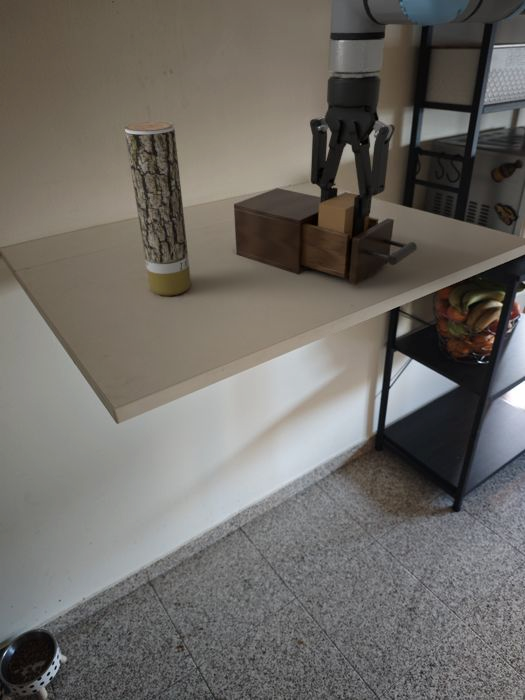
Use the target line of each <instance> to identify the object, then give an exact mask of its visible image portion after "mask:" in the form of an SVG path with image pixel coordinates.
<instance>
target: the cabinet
mask: <svg viewBox="0 0 525 700" xmlns="http://www.w3.org/2000/svg"><path fill="white" fill-rule="evenodd" d="M320 202H321V196H316V195H312V194H307V193H302V192H297V191H294V190H288V189H284V188H279V187H276V188H274V189H271V190H268V191H265V192H262V193H260V194H258V195H255V196H252V197H249V198H246V199H244V200H241V201H239V202H236V203H233V215H234V233H235V234H234V235H235V236H234V237H235V254H236V255H238V256H241V257H243V258H246V259H250V260H253V261H255V262H258V263H262V264H266V265H269V266H271V267H274V268H278V269H281V270H284V271H287V272H290V273H293V274H296V275H300V274H301V273H303V272H305V271H307V270H308V269H311V268H310V267H307V266H303V265H301V247H302V224H303V223H305V222H307V221H309V220H312V219H314V218H316V217H318V216H319V204H320Z"/></svg>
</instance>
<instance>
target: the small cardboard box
mask: <svg viewBox="0 0 525 700" xmlns="http://www.w3.org/2000/svg"><path fill="white" fill-rule="evenodd" d="M357 195H358V194H357V193H352V192H347V191H345V192H343V193H340V194H337V196H336V197H333V198H331V199H329V200H326V201H324V202H322V203H320V204H319V217H318V227H322V228H326V229H330V230H334V231H338V232H342V233H346V234H350V239H351V238H353V237H352V227H353V215H354V199H355V197H356V196H357ZM369 217H370V215H369V216H367V217H365V225H364V231H365V230H367V229H368V223H369Z"/></svg>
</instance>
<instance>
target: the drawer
mask: <svg viewBox="0 0 525 700" xmlns="http://www.w3.org/2000/svg"><path fill="white" fill-rule="evenodd" d="M318 217H319V216H318ZM318 217H316V218H314V219H312V220H309V221H307V222H305V223H303V224H302V247H301V265H303V266H307V267H310V268H309V269H312V270H316V271H320V272H322V273H325V274H330V275H333V276H335V277H339V278H341V279H345V278H347V277H348V284H349V285H350V284H351V285H353V286H356V285H357V284H359V283H361V282H362V281H363V280H365V279H366V278H368V277H369V276H371V275H373V274H374V273H375V272H377V271H378V270H380V269H381V268H383V267H384V266H386V265H387V264H389V265H390V266H395V265H397V264H398V263H400V262H401V261H403V260H404V259H405V258H407V257H408V256H410V255H411V254H412V253H413V254H414V252H416V250H417V249H418V245H417V244H416V242H415V241H410V242H408V243H403V242H400V241H396V240H392V237H393V231H394V222H395V219H394V218H393V219H392V218H390V217H389V218H386V219H384V220H382V221H381V222H379V218H376V217H371V216H369V223H368V229H367V230H365V231H364V232H362V233H361V234H359V235H357V236H355V237H353V238H351V239H350V234H346V233H342V232H338V231H334V230H330V229H326V228H322V227H318ZM392 246H393V247H397V248H399V249H398V250H396V251H395V252H393V253H391V247H392Z"/></svg>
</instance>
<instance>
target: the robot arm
mask: <svg viewBox="0 0 525 700" xmlns="http://www.w3.org/2000/svg"><path fill="white" fill-rule="evenodd" d="M330 1H331V2H330V4H331V6H330V25H329V26H330V28H329V33H330V34H329V48H328V66H327V71H328V72H329V73H330V74H331V75H330V76H329V78H328V79H327V91H326V103H327V106H328V107H327V110H326V112H325V115H324V116H321V117H316V118H313V119H311V120H310V121H309V127H310V131H311V135H312V137H311V139H312V142H311V143H312V144H311V163H310V164H311V165H310V183H311V184H312V185H316V186H318V187H319V188H320V197H321V202H320V203H322V202H324V201H326V200H329V199H331V198H333V197H336V196H338V191H339V190H338V189H339V188H338V187H335V186H336V185H337V183H336V182H335V181H336V178H337V175H338V171H339V167H340V164H341V160H342V156H343V153H344V150H345V147H346V146H347V145H349V146H350V147H351V152H352V153H353V154H354V155H353V156H354V162H355V164H354V165H355V172H356V179H357V185H358V186H357V187H358V194H357V196H356V197H355V199H354V215H353V227H352V237H355V236H357V235H359V234H361V233H362V232H364V225H365V217H367V216H369V217H370V214H371V208H372V200H373V197H375V196H377V195H379V194H381V193H383V192H385V190H386V189H385V187H386V179H387V172H388V171H387V169H388V162H389V161H388V160H389V151H390V142H391V139H392V137H393V136H394V132H395V129H396V127H395V125H393V124H386V123H384V122H382V121H381V120H380V119H379V114H378V110H377V109H378V106H379V105H378V104H379V99H380V90H381V80H382V78H380V76H379V75H378V74H377V73H380V72H381V71H382V67H383V57H384V49H385V48H384V47H385V38H386V27H387V26H388V25H401V26H402V25H403V26H404V25H405V26H414V25H415V26H416V25H417V26H420V27H427V26H438V25H442V24H444V25H446V24H447V25H448V24H477V23H478V24H480V23H481V24H487V25H488V24H490V25H491V24H497V23H499V22H505V21H509V20H511V19H513V18H516V17H517V16H519V15H520V14H522V12H524V10H525V0H330ZM328 129H329V131H330V133H331V134H330V138H329V141H328ZM373 131H374V134H373V137H374V138H375V140H374V145H373V154H372V162H371V155H370V154H371V153H370V148H371V139H370V135H371V134H372V132H373ZM327 146H328V148H327ZM327 149H328V152H327Z"/></svg>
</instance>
